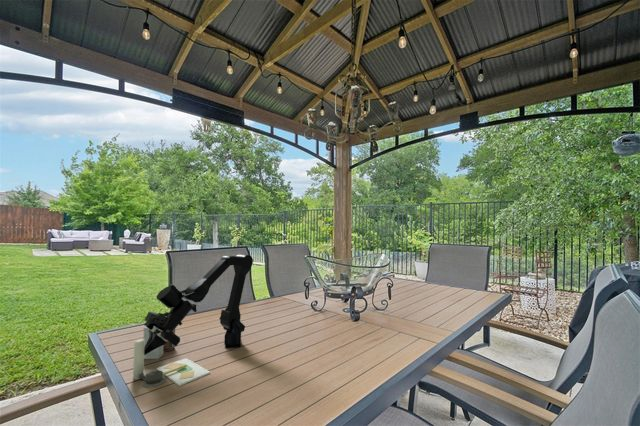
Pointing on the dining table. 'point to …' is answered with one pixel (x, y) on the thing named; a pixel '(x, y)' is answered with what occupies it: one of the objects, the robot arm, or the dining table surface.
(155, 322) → the robot arm
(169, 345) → the supplement bottle
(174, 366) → the tuner board
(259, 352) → the dining table surface
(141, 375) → the peg dial
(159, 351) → the skincare box
